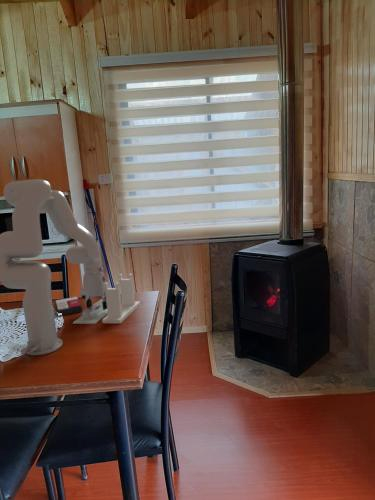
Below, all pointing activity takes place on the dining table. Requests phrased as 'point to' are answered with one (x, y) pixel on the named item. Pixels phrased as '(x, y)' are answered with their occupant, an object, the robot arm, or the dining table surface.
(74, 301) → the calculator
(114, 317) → the rack
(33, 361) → the dining table surface
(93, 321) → the mat
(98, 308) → the rail
